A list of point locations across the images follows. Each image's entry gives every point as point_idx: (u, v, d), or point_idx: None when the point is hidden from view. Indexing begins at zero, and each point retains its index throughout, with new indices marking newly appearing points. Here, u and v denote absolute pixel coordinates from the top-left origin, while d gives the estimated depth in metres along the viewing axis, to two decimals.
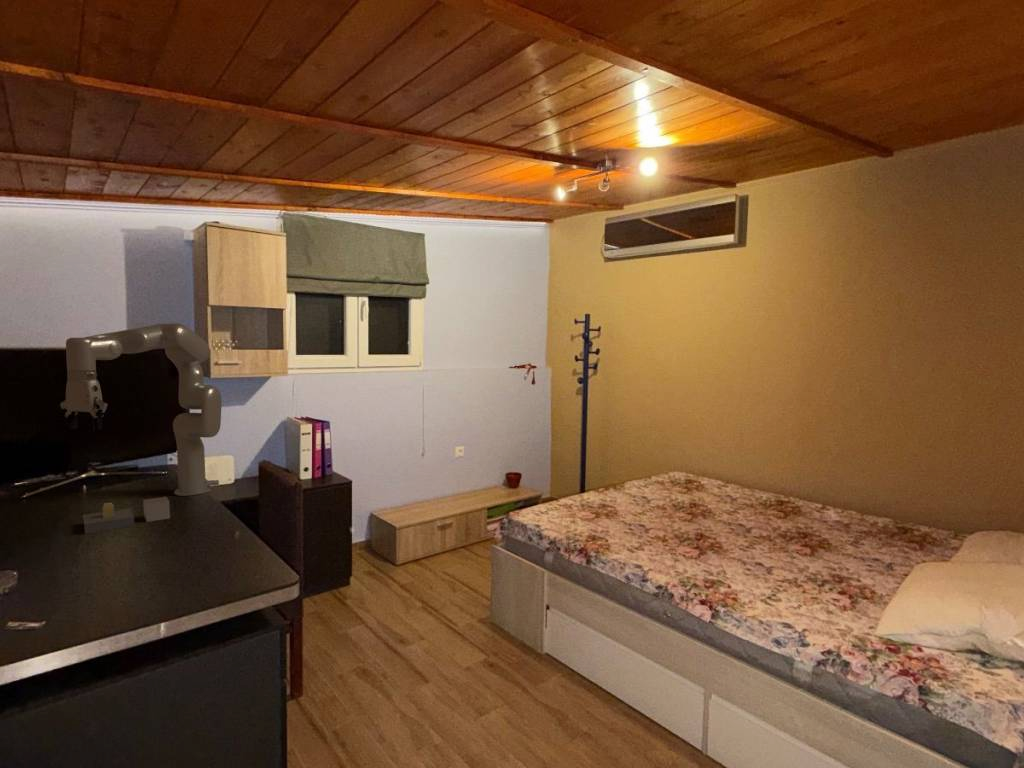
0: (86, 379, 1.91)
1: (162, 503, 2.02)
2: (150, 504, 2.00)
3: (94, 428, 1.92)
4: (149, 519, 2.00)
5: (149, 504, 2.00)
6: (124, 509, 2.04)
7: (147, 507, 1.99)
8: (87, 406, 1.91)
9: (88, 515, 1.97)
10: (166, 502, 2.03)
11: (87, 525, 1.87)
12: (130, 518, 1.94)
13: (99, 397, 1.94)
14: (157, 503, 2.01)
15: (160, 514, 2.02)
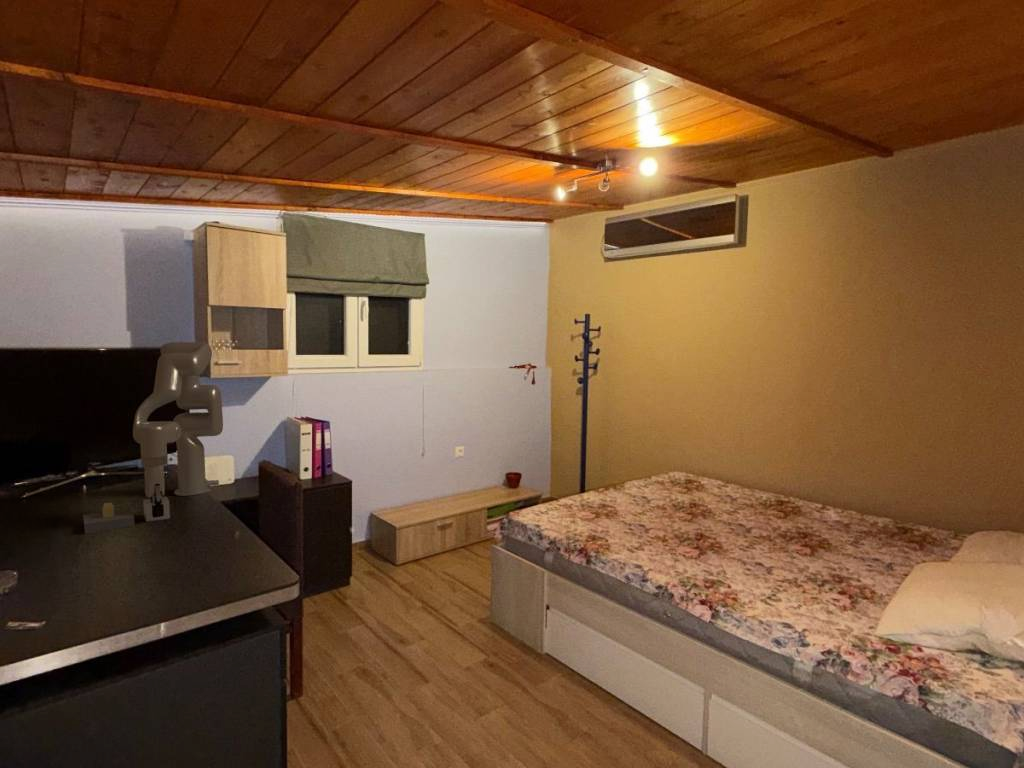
0: None
1: None
2: (150, 504, 2.00)
3: None
4: (149, 519, 2.00)
5: (149, 504, 2.00)
6: (124, 509, 2.04)
7: (147, 507, 1.99)
8: None
9: (88, 515, 1.97)
10: (166, 502, 2.02)
11: (87, 525, 1.87)
12: (130, 518, 1.94)
13: None
14: None
15: None
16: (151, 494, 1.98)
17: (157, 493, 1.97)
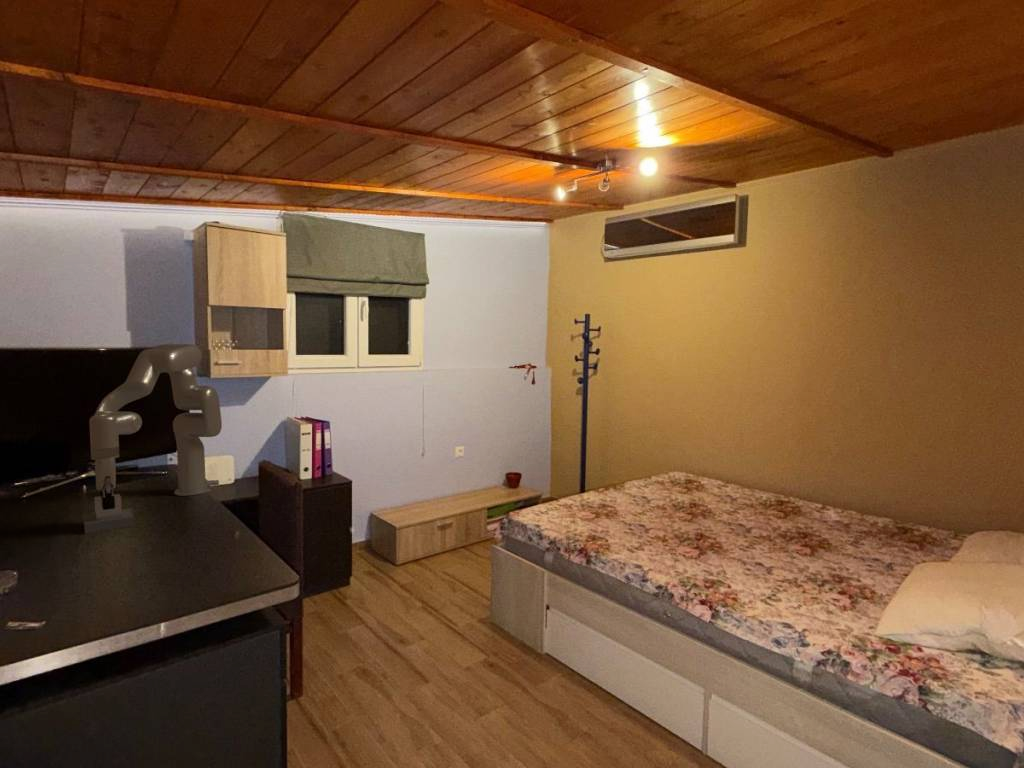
0: None
1: None
2: (100, 501, 1.92)
3: None
4: (99, 517, 1.92)
5: (99, 501, 1.91)
6: (124, 509, 2.04)
7: (97, 505, 1.91)
8: None
9: (88, 515, 1.97)
10: (118, 499, 1.94)
11: (87, 525, 1.87)
12: (130, 518, 1.94)
13: None
14: None
15: (111, 512, 1.93)
16: (101, 487, 1.90)
17: (107, 483, 1.89)
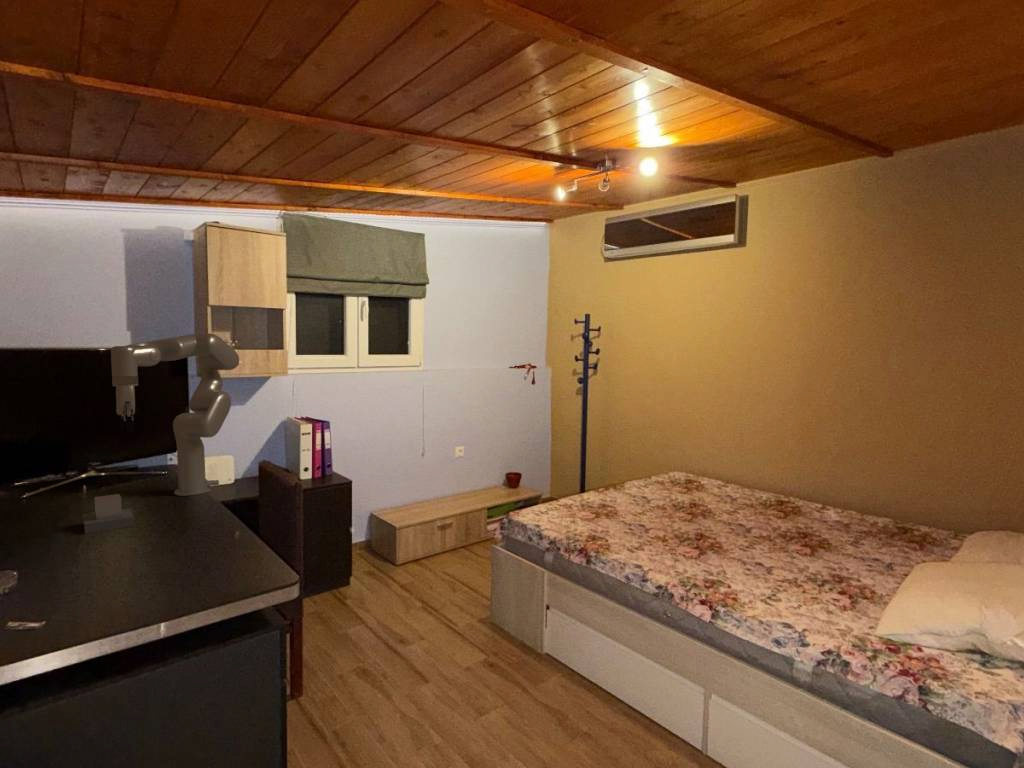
0: None
1: (113, 500, 1.94)
2: (100, 501, 1.92)
3: None
4: (99, 517, 1.92)
5: (99, 501, 1.91)
6: (124, 509, 2.04)
7: (97, 505, 1.91)
8: None
9: (88, 515, 1.97)
10: (118, 499, 1.94)
11: (87, 525, 1.87)
12: (130, 518, 1.94)
13: None
14: (108, 501, 1.93)
15: (111, 512, 1.93)
16: (121, 411, 2.06)
17: (127, 407, 2.04)
